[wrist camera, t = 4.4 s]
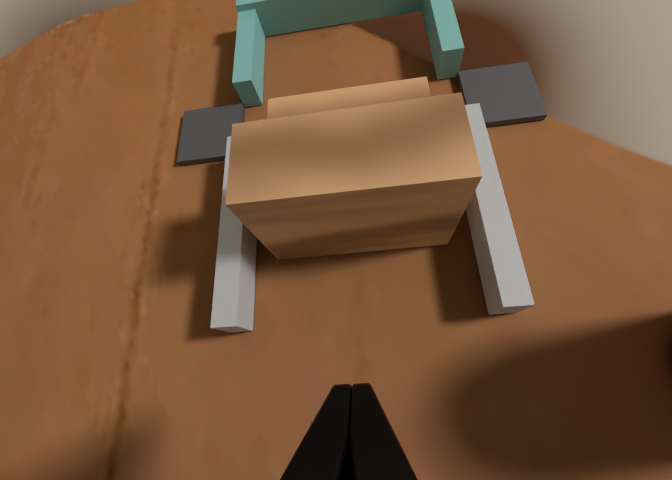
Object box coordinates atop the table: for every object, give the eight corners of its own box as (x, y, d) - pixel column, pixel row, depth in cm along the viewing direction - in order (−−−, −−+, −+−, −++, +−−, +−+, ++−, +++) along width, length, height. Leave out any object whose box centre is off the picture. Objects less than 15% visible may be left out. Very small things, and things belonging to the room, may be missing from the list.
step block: (447, 244, 21) (482, 176, 14) (278, 260, 22) (225, 205, 15) (421, 108, 25) (438, -1, 18) (280, 127, 26) (239, 32, 19)
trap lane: (610, 306, 18) (651, 294, 16) (154, 337, 21) (120, 332, 18) (496, -14, 28) (508, -55, 26) (199, 36, 31) (181, 3, 29)
